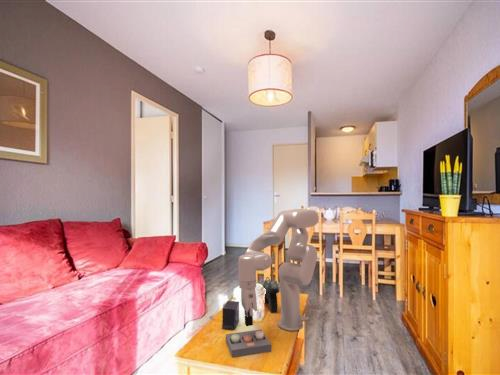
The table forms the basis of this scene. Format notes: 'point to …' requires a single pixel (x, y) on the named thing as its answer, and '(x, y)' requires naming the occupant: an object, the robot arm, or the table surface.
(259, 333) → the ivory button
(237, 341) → the sage button
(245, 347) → the button box
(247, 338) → the terracotta button
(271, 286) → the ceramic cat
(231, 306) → the small box
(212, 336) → the table surface
